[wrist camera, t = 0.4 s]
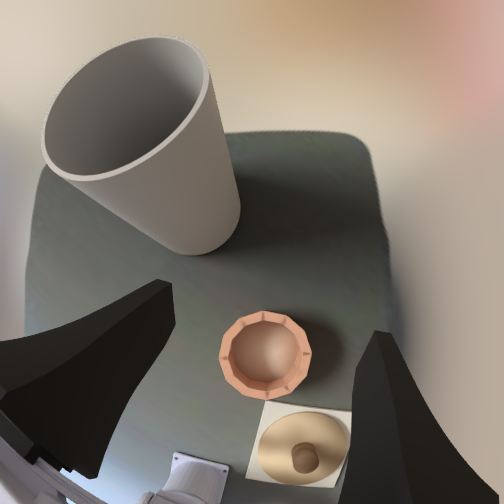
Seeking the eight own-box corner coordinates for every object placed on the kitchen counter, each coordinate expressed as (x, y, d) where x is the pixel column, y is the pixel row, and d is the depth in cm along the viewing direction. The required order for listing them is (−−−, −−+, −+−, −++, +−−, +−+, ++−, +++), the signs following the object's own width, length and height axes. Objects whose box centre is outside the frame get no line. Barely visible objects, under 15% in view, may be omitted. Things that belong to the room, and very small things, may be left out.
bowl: (294, 393, 35) (299, 405, 30) (218, 378, 36) (212, 388, 31) (312, 319, 37) (318, 321, 32) (234, 304, 38) (230, 303, 33)
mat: (332, 485, 32) (333, 487, 31) (245, 476, 33) (245, 478, 32) (359, 411, 34) (360, 412, 34) (265, 399, 35) (265, 400, 35)
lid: (331, 485, 32) (337, 500, 27) (249, 476, 33) (247, 491, 28) (356, 415, 34) (365, 426, 29) (268, 404, 35) (269, 415, 30)
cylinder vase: (246, 173, 41) (225, 29, 16) (234, 261, 39) (184, 184, 14) (163, 168, 42) (81, 49, 17) (145, 251, 40) (19, 182, 15)
